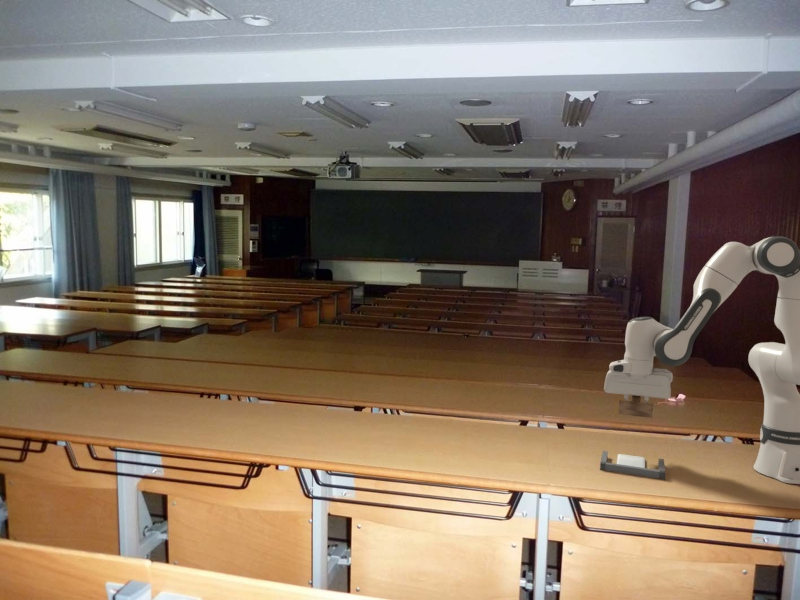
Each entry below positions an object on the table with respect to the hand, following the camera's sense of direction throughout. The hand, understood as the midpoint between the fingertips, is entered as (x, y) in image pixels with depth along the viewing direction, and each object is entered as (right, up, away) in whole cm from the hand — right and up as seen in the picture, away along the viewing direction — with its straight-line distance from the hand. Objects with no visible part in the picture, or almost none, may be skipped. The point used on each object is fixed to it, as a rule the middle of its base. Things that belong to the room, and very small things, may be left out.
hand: (635, 408), depth 200 cm
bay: (-6, -16, -12) cm, 20 cm away
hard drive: (-5, -16, -9) cm, 20 cm away
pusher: (+1, 0, +2) cm, 2 cm away
